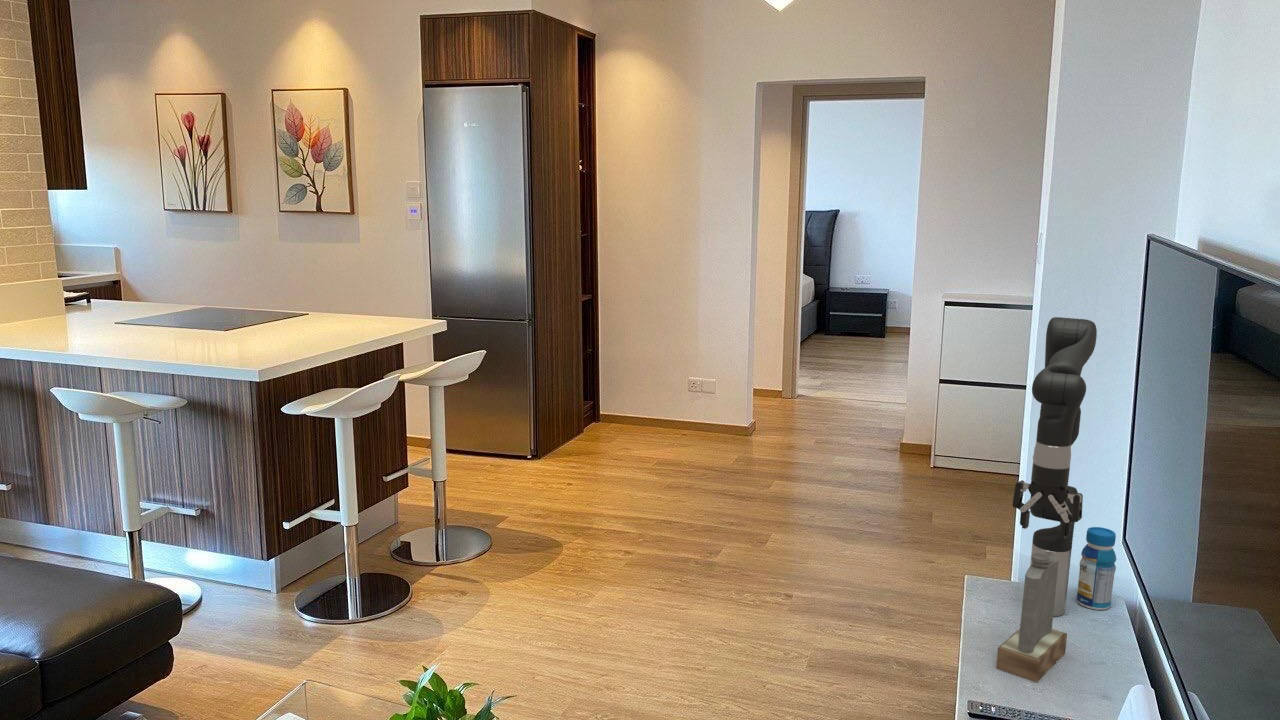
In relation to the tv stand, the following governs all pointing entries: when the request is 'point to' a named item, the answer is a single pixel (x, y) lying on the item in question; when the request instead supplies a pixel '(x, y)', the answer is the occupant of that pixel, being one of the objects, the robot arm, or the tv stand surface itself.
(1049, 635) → the walnut plinth
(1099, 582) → the beverage bottle
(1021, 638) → the hip flask
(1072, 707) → the tv stand surface
